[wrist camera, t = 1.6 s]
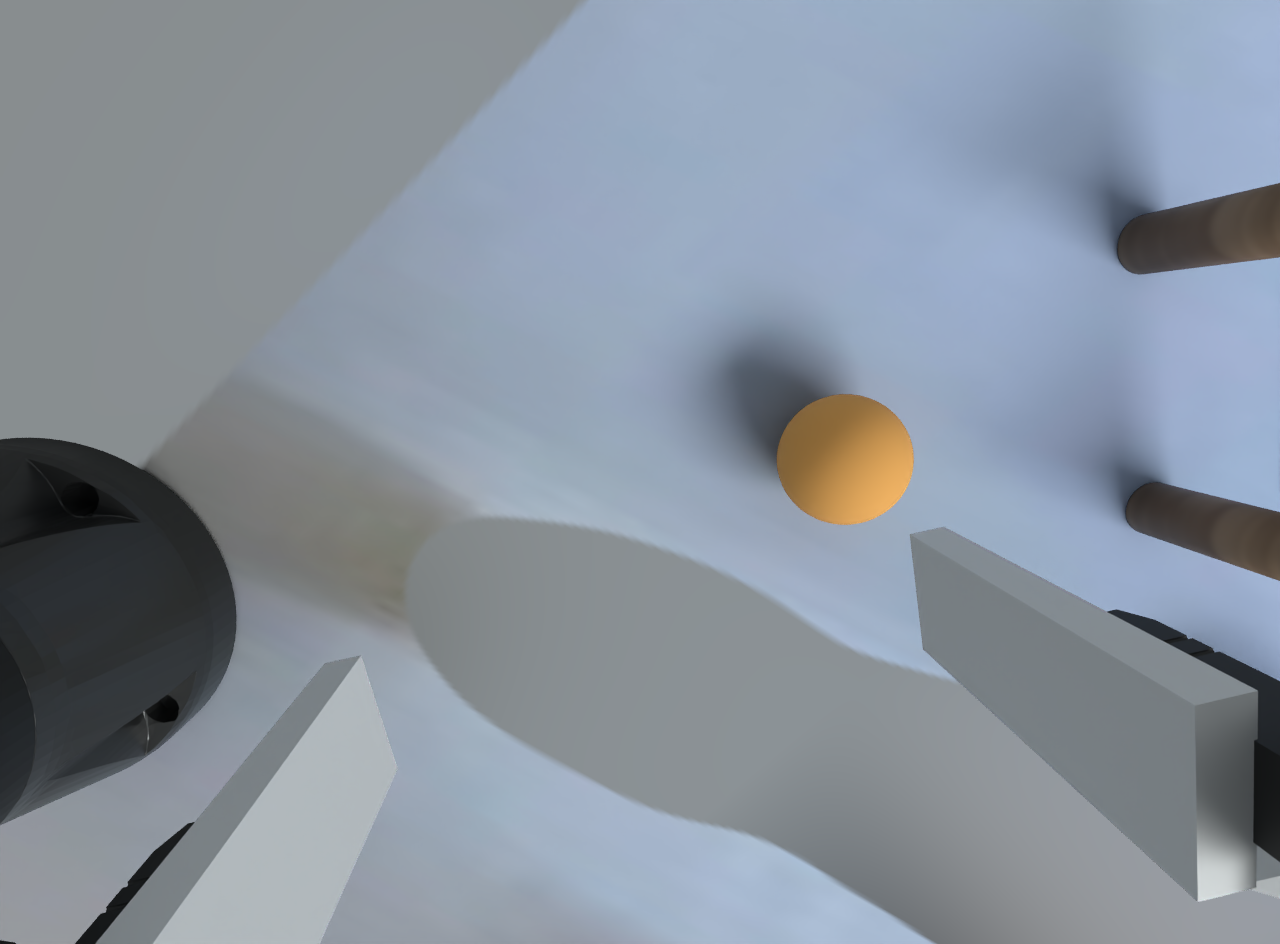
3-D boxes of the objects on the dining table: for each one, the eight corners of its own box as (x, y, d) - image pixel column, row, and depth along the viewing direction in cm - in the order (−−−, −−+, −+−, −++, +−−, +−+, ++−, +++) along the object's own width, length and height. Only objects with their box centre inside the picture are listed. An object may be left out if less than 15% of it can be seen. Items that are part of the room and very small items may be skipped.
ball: (771, 516, 30) (810, 554, 25) (754, 402, 29) (790, 416, 24) (884, 493, 30) (946, 525, 25) (871, 378, 29) (933, 387, 24)
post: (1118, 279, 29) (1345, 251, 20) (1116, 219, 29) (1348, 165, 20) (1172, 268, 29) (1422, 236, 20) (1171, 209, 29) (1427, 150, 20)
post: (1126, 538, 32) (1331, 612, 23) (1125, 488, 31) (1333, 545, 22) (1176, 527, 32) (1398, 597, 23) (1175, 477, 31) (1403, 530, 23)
